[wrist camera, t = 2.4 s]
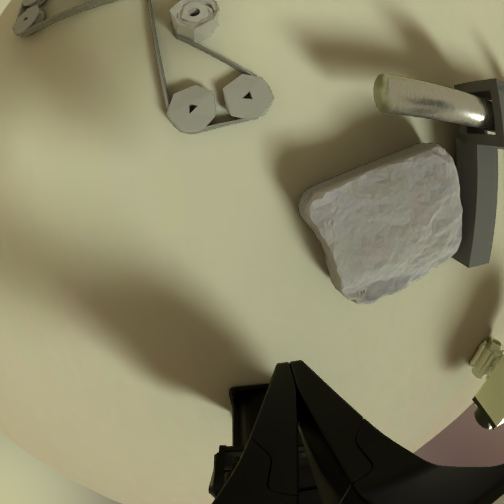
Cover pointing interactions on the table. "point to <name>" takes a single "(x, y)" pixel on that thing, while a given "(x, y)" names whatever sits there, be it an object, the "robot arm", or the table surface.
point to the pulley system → (185, 29)
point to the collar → (479, 176)
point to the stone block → (387, 221)
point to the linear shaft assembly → (432, 102)
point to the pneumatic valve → (489, 384)
